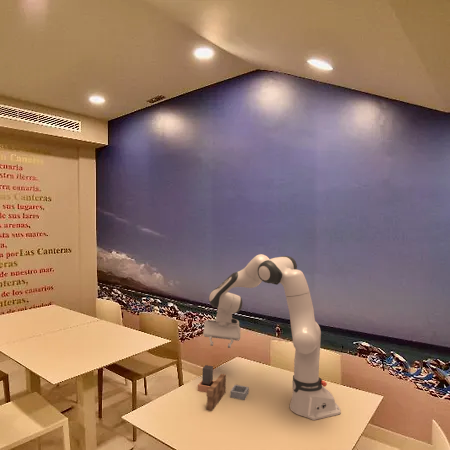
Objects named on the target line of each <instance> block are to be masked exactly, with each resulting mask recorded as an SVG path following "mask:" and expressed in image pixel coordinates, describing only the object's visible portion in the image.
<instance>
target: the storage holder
mask: <svg viewBox="0 0 450 450" xmlns="http://www.w3.org/2000/svg"><path fill="white" fill-rule="evenodd" d="M249 388H250V387H249V386H244V385H240V384H239V385H238V384H234V385H233V386H232V388H231V389H230V392H229V395H230V396H229V398H232V399H236V400H242V401H245V400H246V399H247V396H248V395H249V393H250V392H249V391H250V389H249Z"/></svg>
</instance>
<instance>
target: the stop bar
mask: <svg viewBox="0 0 450 450" xmlns="http://www.w3.org/2000/svg"><path fill="white" fill-rule="evenodd" d="M201 379H202V380H201V381H202V385H205V386H211V385H212V384H213V381H214V366H212V365H208V364H205V365H204V366H203V367H202V378H201Z"/></svg>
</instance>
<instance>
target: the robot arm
mask: <svg viewBox="0 0 450 450" xmlns="http://www.w3.org/2000/svg"><path fill="white" fill-rule="evenodd" d="M262 282H264V283H266V284H272V285H279V284H281V285H282V287H283V289H284V295H285V299H286V304H287V307H288V312H289V320H290V330H291V337H292V345H293V348H294V349H295V351H294V359H293V361H294V363H293V365H294V367H293V375H292V395H291V399H290V403H289V408H290V410H291V411H292V412H293V413H294V414H296V415H298V416H301V417H305V418H307V419H309V420H312V421H316V420H321V419H325V418H329V417H334V416H337V415H341V413H342V412H341V408H340V406H339V405H338V404H337V402H336V401H335V397H334V395H333V394H332V393H331V391H330V390H328V389H327V388H326V386H327V385H328V384H327V383H328V382H326V381H325V380H323V379H322V378H321V377H320V375H319V374H320V354H321V339H322V338H321V337H322V331H321V327H320V325H319V324H318V322H317V321H316V318H315V310H314V304H313V300H312V296H311V295H312V294H311V291H310V288H309V284H308V281H307V279H306V276H305V274H304V273H303V271H302V270H300V269H298V264H297V262H296V260H295V259H294V258H293V256H288V255H281V256H278V257H272V258H269V257H268V256H267V255H265V254H263V253H262V254H261V253H259V254H257V255H255V256H254V257H253V258H252V259H251V260H249V262H248V263H247V264H246V266H245V267H244V268H242V269H241V270H239V271H237V272H233V273H231V274H230V275H229V276H228V277H227V278H226V279H225V280H223V282H221V283H220V284H219V285H218V287H215V288H214V289H213V290H212V291H211V292H210V294H209V297H208V302H209V304H210V306H212V308H217V312H216V317H215V320H213V319H211V320H210V319H207V320H205V321H204V323H203V326H204V328H203V331H202V335H203V336H204V337H205V338H208V339H209V342H210V344H209V346H210V347H211V346H214V341H212V340H213V339H221V340H229V341H230V342H229V343H228V344H227V348H228V349H231V347H232V344H233V343H234V341H237V342H238V341H240V340H241V327H240V321H239V320H238V319H235V318H233V314H236V313H238V312H240V311H241V310H242V308H243V299H242V297H241V295H238V294H235V293H233V292H229V291H230V290H232V289H233V288H246V289H253V288H256V287H258V286H259V285H260V284H261V283H262Z"/></svg>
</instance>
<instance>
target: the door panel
mask: <svg viewBox="0 0 450 450" xmlns="http://www.w3.org/2000/svg"><path fill="white" fill-rule="evenodd" d="M226 378H227V373H226V374H225V373H221V374H220V375H219V376H218V377H216V379H215V380H214V381H215V382H214V383H213V384H212V385H211V386H210V388H209V389H208V390H207V393H206V410H207V411H210V412H212V411H213V410H214V409H215V408H216V407H217V405H218V404H219V402H220V401H221V399H222V398H223V397H224V395H225V394H226V391H227V390H226V389H227V388H226V387H227V386H226V385H227V384H226V383H227V381H226V380H227V379H226Z"/></svg>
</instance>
